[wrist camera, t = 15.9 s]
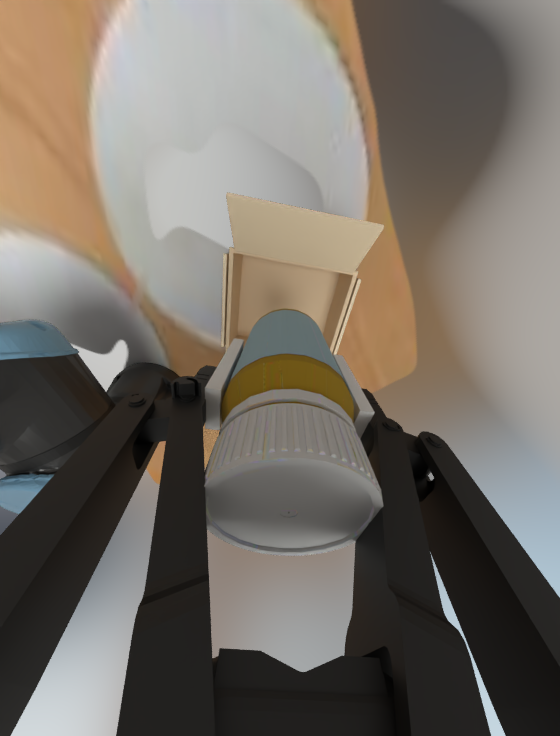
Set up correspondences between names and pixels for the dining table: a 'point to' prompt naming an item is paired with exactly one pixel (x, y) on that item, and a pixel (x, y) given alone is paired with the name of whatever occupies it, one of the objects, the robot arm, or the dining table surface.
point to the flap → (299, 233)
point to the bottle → (289, 447)
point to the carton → (283, 294)
